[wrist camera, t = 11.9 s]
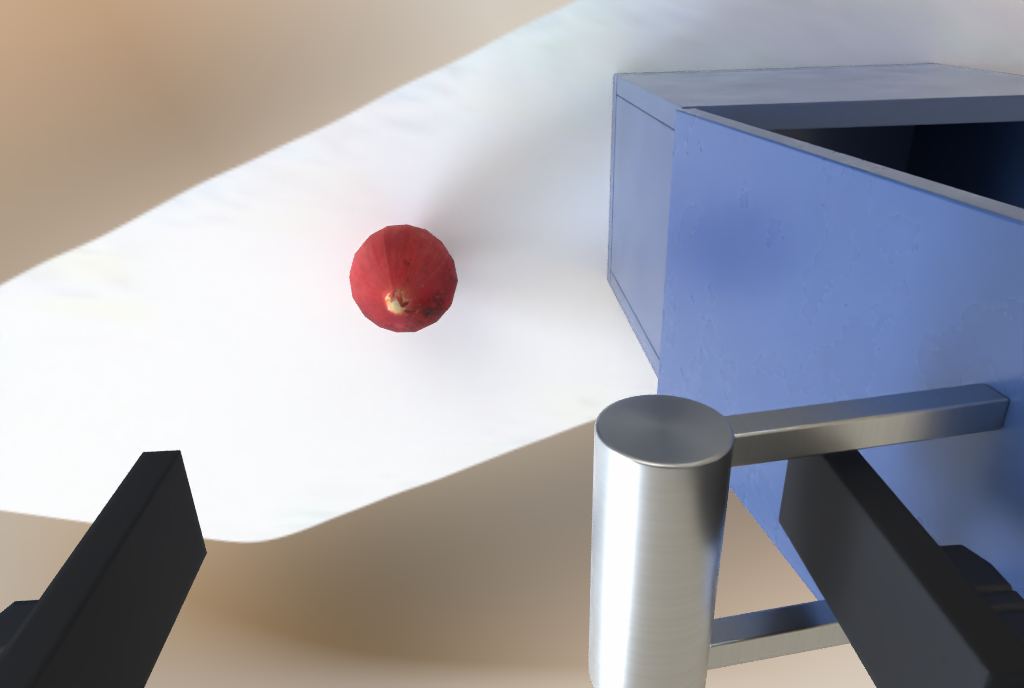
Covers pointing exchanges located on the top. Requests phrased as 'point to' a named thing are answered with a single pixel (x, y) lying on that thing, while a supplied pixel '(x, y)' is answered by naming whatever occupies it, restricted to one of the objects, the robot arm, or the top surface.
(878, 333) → the box lid
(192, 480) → the top surface
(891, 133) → the blue box
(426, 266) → the pomegranate
